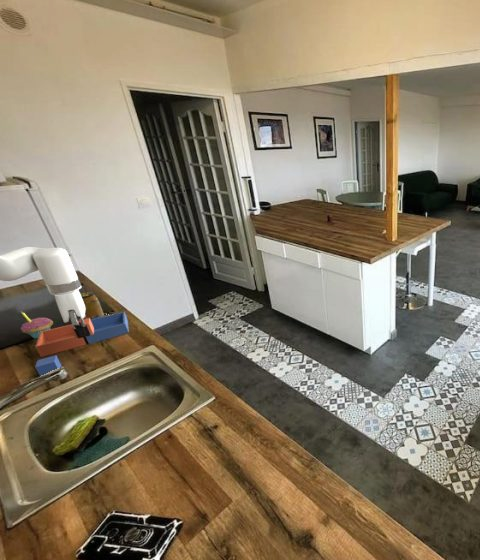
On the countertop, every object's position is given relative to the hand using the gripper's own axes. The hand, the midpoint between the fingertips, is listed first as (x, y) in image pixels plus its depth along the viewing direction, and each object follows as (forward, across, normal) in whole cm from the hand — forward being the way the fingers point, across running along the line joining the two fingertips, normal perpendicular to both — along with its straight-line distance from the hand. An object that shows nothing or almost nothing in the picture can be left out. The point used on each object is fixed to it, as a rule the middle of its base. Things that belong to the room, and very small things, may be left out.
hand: (84, 332), depth 108 cm
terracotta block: (0, 0, 0) cm, 0 cm away
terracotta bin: (+11, -18, -9) cm, 24 cm away
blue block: (+11, 0, -11) cm, 16 cm away
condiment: (+11, -34, 0) cm, 36 cm away
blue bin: (+11, -18, +4) cm, 22 cm away
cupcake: (+12, -32, -17) cm, 38 cm away
